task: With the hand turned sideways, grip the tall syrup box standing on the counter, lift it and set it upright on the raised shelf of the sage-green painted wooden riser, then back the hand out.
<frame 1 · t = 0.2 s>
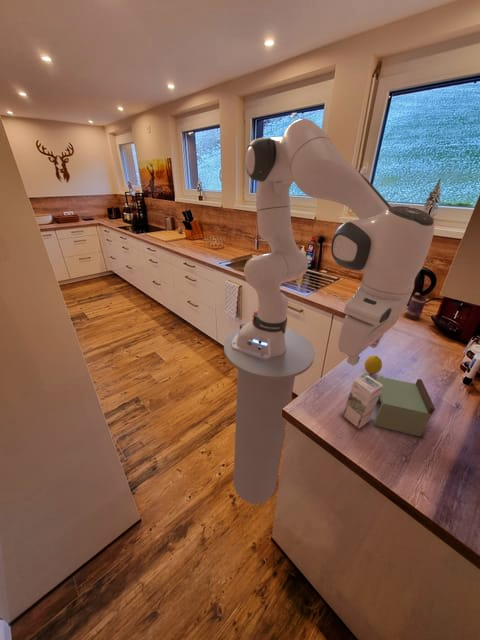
hand: (362, 354, 58), 29 cm above the worktop, tool pointing down, fingers open, 8 cm apart
shelf: (392, 415, 80), on the worktop
lemon: (369, 373, 97), on the worktop
syrup box: (355, 419, 79), on the worktop
mug: (411, 316, 141), on the worktop
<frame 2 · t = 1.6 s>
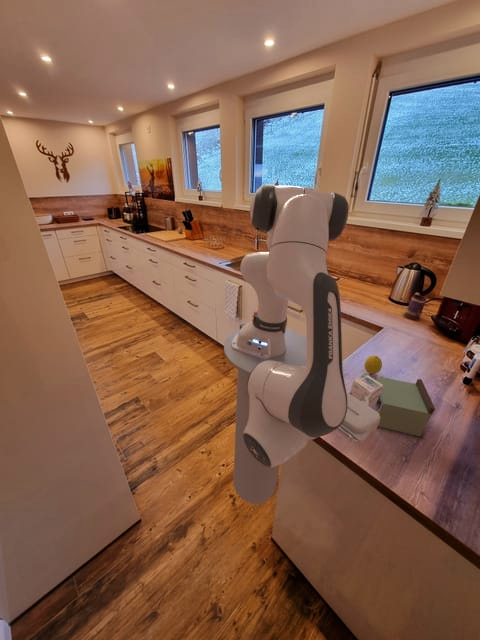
hand: (349, 384, 62), 20 cm above the worktop, tool horizontal, fingers open, 8 cm apart
nothing on the worktop moved.
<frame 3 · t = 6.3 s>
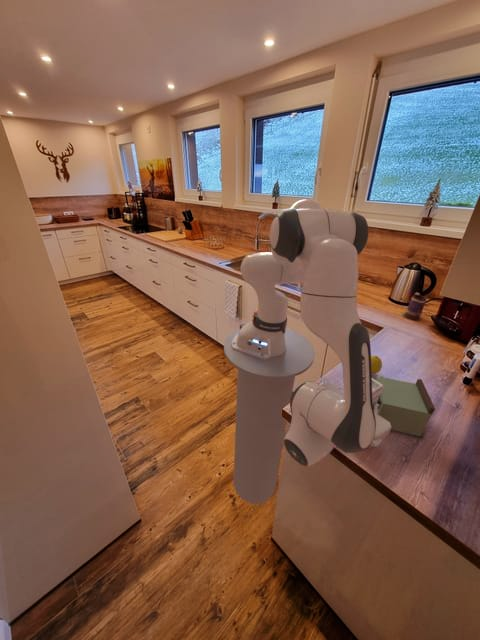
hand: (364, 397, 75), 8 cm above the worktop, tool horizontal, fingers closed on syrup box, 6 cm apart
syrup box: (355, 419, 79), on the worktop, touching gripper
everything else where it was.
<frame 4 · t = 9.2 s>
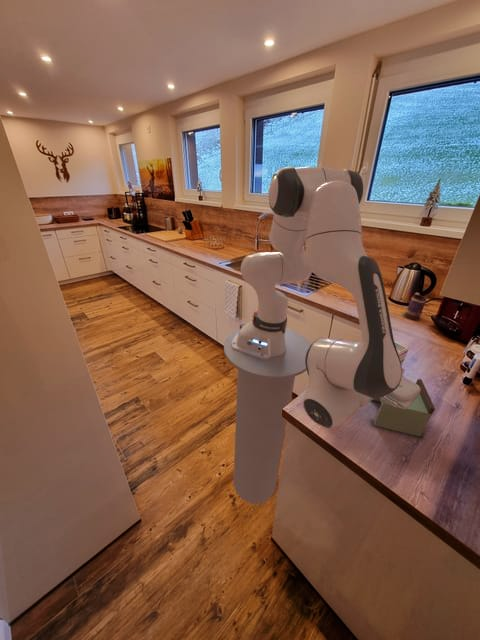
hand: (387, 362, 70), 20 cm above the worktop, tool horizontal, fingers closed on syrup box, 6 cm apart
syrup box: (376, 388, 73), point 12 cm above the worktop, touching gripper
everything else where it was.
when the fingers open (17 cm above the worktop, at t = 12.1 s): syrup box stays where it is, resting on shelf.
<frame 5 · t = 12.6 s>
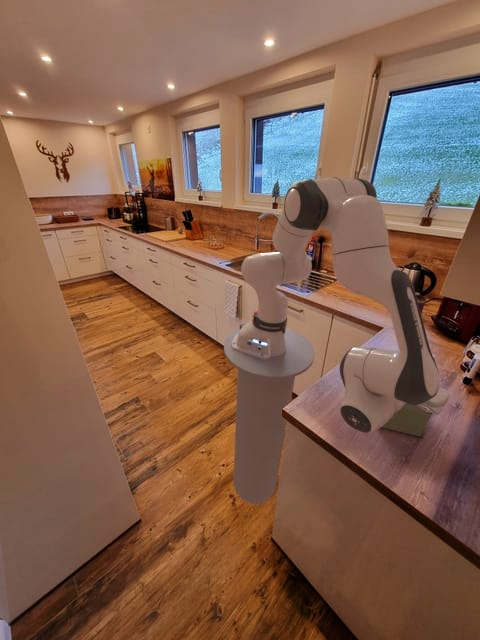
hand: (413, 368, 72), 18 cm above the worktop, tool horizontal, fingers open, 8 cm apart
syrup box: (402, 394, 76), point 9 cm above the worktop, touching shelf
everything else where it was.
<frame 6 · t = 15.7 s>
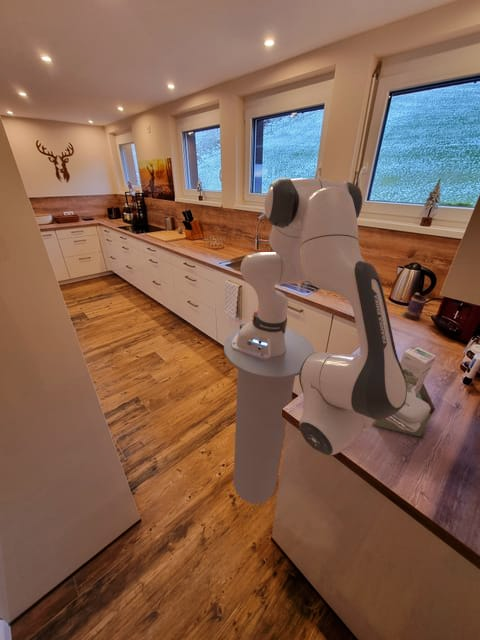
hand: (392, 376, 63), 21 cm above the worktop, tool horizontal, fingers open, 8 cm apart
nothing on the worktop moved.
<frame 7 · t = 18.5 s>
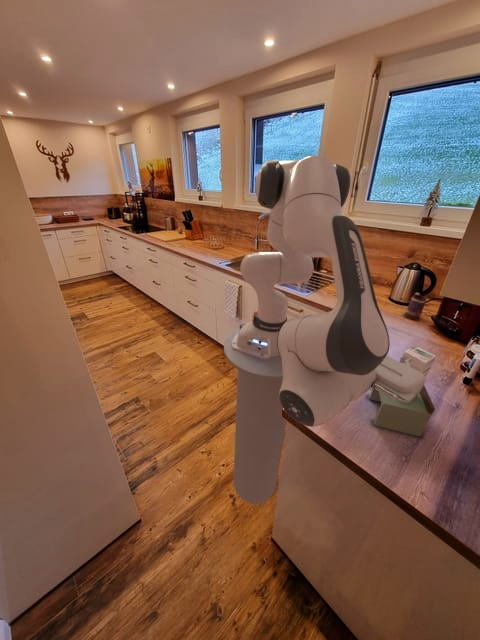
hand: (384, 349, 58), 30 cm above the worktop, tool horizontal, fingers open, 8 cm apart
nothing on the worktop moved.
at the end: syrup box inside the target area on the shelf (0.1 cm from its centre), point 8.8 cm above the shelf's base; syrup box tilted 0°; the gripper is holding nothing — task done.
